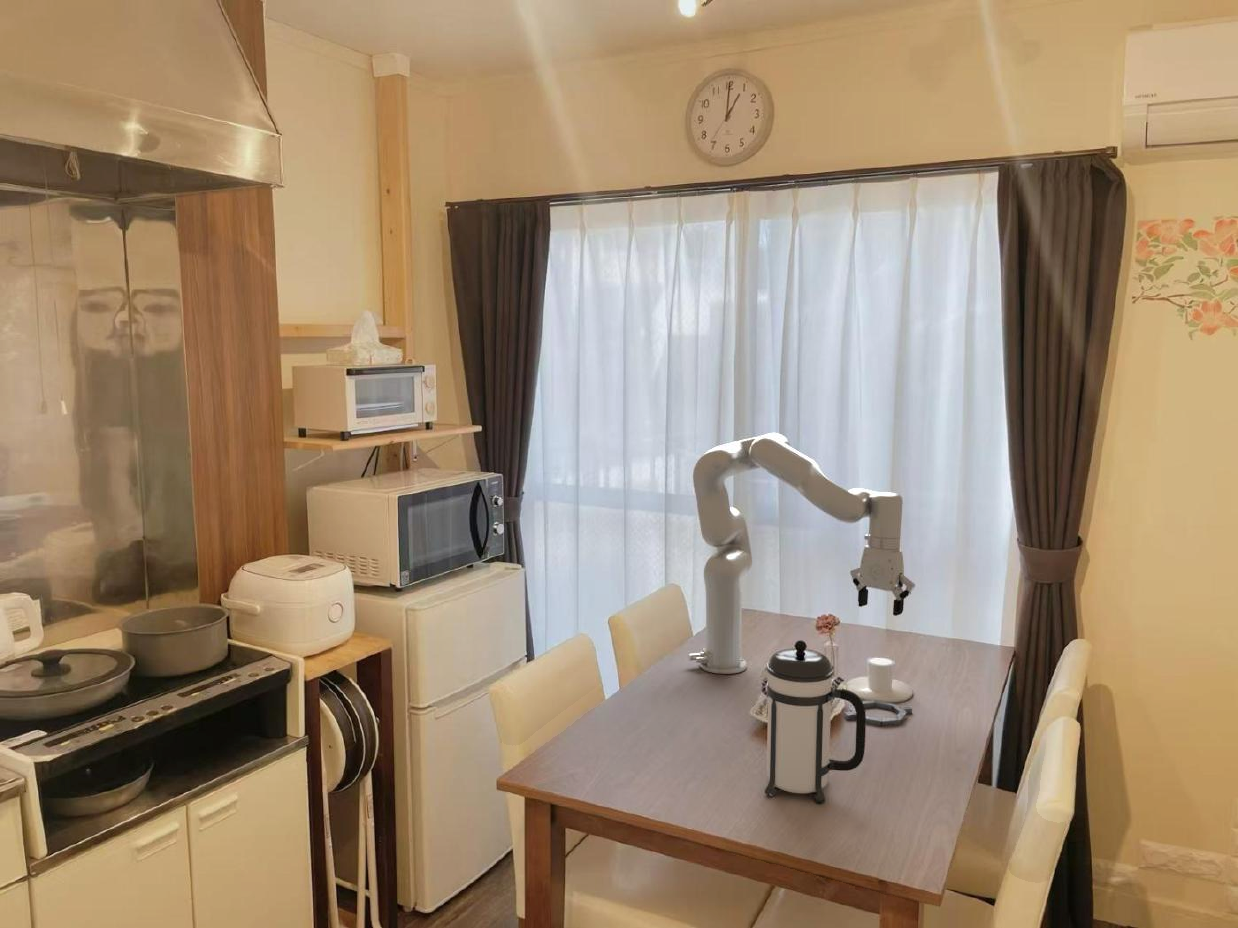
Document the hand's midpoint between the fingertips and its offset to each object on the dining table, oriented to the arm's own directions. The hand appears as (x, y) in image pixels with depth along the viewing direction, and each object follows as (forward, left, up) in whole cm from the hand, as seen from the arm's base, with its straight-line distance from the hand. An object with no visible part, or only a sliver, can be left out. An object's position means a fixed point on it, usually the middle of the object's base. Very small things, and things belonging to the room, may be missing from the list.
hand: (879, 609), depth 232 cm
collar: (-8, -14, -21) cm, 26 cm away
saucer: (0, 0, -21) cm, 21 cm away
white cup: (+1, 0, -20) cm, 20 cm away
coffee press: (-40, -43, -21) cm, 62 cm away
